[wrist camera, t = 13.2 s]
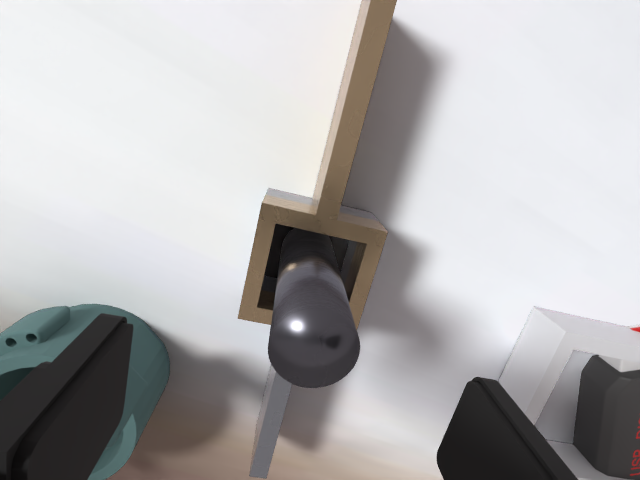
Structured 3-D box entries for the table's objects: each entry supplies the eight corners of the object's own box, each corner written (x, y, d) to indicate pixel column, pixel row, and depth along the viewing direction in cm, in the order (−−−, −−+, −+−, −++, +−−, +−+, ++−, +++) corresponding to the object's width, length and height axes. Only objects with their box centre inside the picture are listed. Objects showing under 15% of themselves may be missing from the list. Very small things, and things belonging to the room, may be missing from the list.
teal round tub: (184, 317, 22) (113, 435, 14) (154, 433, 25) (77, 593, 16) (30, 277, 21) (-154, 378, 13) (14, 403, 24) (-150, 559, 15)
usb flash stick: (570, 467, 28) (599, 502, 25) (584, 330, 24) (619, 354, 22) (636, 457, 28) (671, 491, 25) (659, 319, 25) (702, 342, 22)
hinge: (306, 430, 25) (308, 484, 22) (220, 417, 25) (205, 470, 21) (428, 21, 18) (463, -6, 14) (311, -15, 17) (315, -54, 14)
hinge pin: (287, 219, 21) (278, 300, 11) (338, 231, 21) (371, 318, 12) (276, 267, 22) (259, 379, 12) (325, 277, 22) (346, 394, 12)
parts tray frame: (471, 439, 26) (492, 477, 24) (533, 306, 23) (565, 331, 21) (680, 472, 29) (722, 511, 26) (760, 355, 26) (818, 384, 23)
